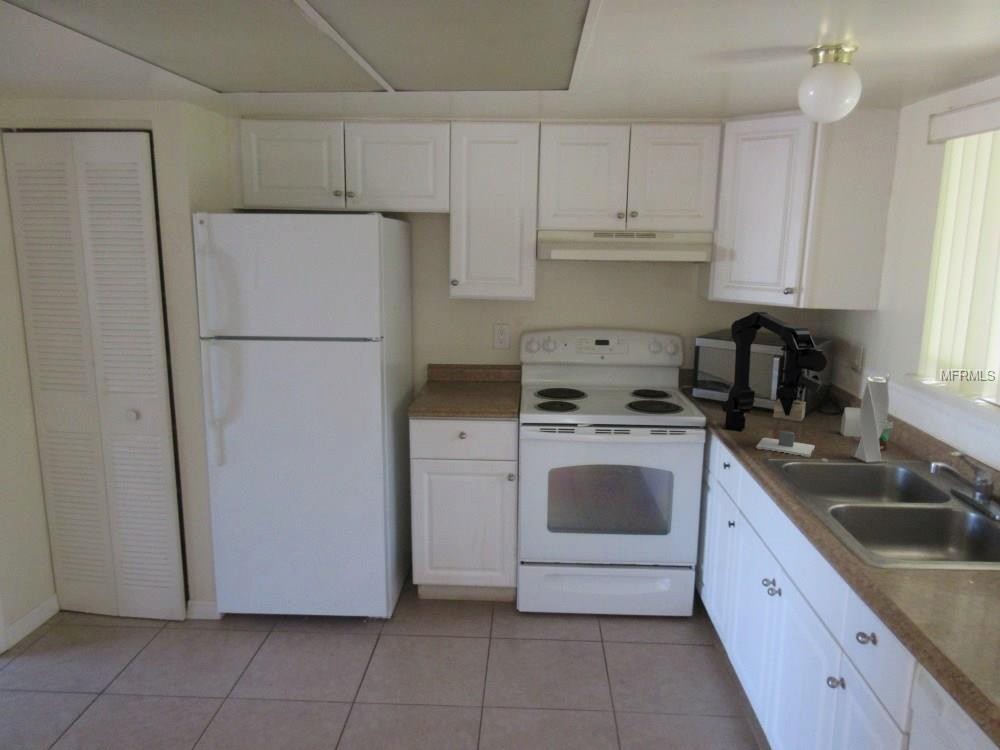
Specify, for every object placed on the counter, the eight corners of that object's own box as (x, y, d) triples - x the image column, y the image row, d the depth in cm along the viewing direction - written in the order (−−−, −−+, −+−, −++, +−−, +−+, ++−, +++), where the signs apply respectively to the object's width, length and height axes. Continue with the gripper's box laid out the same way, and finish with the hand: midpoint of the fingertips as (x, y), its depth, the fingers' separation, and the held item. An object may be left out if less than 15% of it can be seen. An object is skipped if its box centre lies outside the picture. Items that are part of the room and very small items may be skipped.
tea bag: (864, 437, 233) (867, 409, 231) (843, 436, 234) (846, 408, 233) (860, 434, 237) (863, 407, 235) (840, 433, 238) (843, 406, 236)
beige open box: (801, 421, 211) (802, 405, 210) (773, 417, 215) (774, 402, 214) (804, 417, 216) (805, 402, 215) (776, 413, 221) (778, 398, 220)
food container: (896, 453, 214) (900, 424, 213) (875, 452, 216) (879, 422, 214) (882, 443, 226) (886, 414, 224) (863, 441, 228) (866, 413, 226)
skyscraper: (890, 464, 204) (902, 374, 198) (866, 465, 202) (878, 375, 197) (870, 455, 212) (881, 369, 207) (847, 456, 210) (858, 370, 205)
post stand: (756, 448, 217) (757, 432, 216) (763, 440, 227) (765, 424, 226) (809, 457, 209) (811, 440, 208) (814, 448, 219) (816, 432, 218)
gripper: (817, 373, 201) (811, 423, 204) (825, 365, 216) (819, 411, 219) (778, 369, 207) (773, 417, 210) (788, 361, 222) (784, 406, 225)
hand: (789, 413), depth 216 cm, fingers closed on beige open box, 6 cm apart
